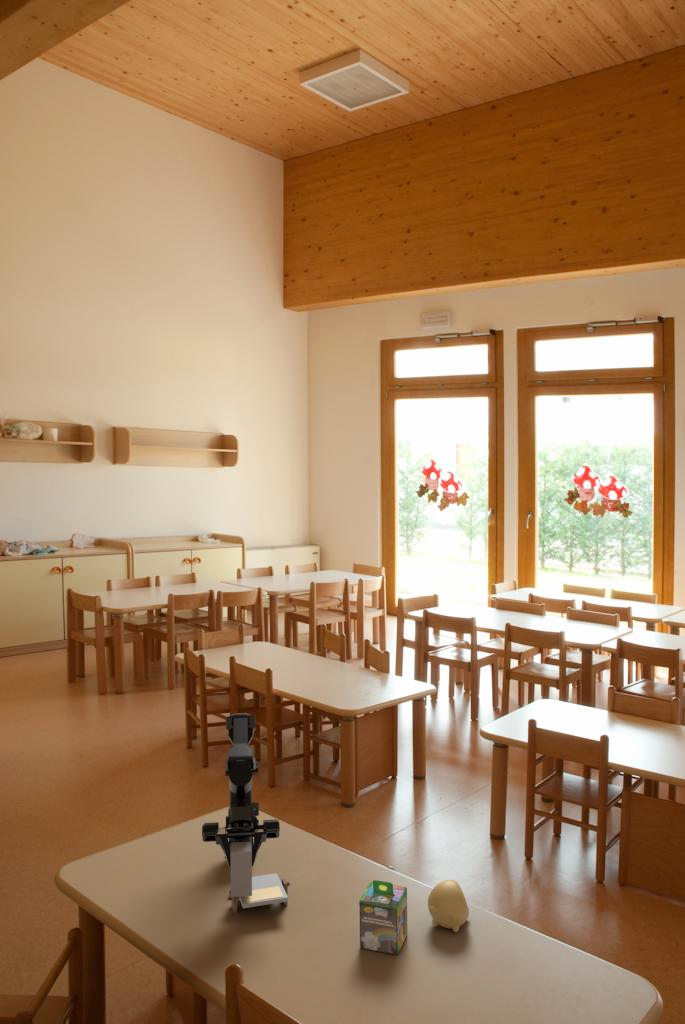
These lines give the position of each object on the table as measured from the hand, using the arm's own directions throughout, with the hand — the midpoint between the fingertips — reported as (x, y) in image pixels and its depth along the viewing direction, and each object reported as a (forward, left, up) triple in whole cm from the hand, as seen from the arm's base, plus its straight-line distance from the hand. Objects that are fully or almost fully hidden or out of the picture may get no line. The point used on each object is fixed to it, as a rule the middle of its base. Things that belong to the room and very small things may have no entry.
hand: (241, 866), depth 200 cm
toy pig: (-33, +37, -14) cm, 51 cm away
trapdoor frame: (-9, -4, -13) cm, 16 cm away
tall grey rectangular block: (-1, -1, -7) cm, 7 cm away
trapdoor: (-7, -1, -12) cm, 14 cm away
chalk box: (-17, +30, -14) cm, 37 cm away
